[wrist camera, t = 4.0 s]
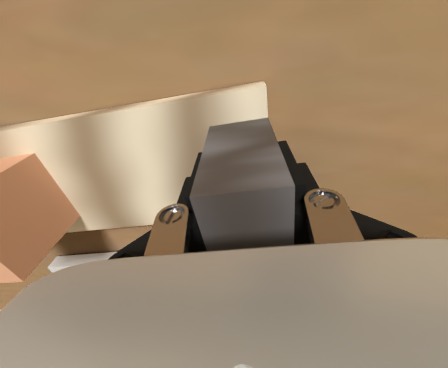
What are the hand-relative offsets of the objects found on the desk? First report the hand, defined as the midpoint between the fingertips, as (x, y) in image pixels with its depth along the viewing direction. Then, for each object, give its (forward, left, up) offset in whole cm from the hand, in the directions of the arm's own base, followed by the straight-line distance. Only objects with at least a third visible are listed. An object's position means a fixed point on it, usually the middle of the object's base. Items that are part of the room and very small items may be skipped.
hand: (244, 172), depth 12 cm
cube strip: (+8, 0, -2) cm, 9 cm away
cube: (+14, 0, -1) cm, 15 cm away
